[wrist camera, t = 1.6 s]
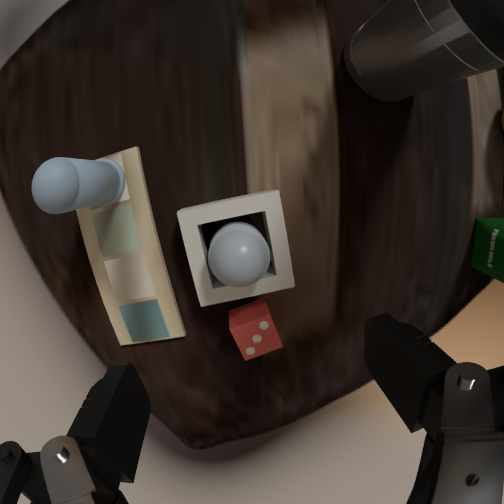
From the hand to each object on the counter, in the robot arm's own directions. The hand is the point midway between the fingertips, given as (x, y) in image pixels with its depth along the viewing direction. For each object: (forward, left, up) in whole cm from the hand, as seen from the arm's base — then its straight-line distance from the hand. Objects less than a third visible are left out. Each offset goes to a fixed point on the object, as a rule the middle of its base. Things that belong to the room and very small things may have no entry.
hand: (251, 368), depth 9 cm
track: (+11, -1, -20) cm, 23 cm away
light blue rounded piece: (0, 0, -18) cm, 18 cm away
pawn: (+11, -9, -19) cm, 24 cm away
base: (0, 0, -20) cm, 20 cm away
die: (0, +9, -20) cm, 22 cm away
